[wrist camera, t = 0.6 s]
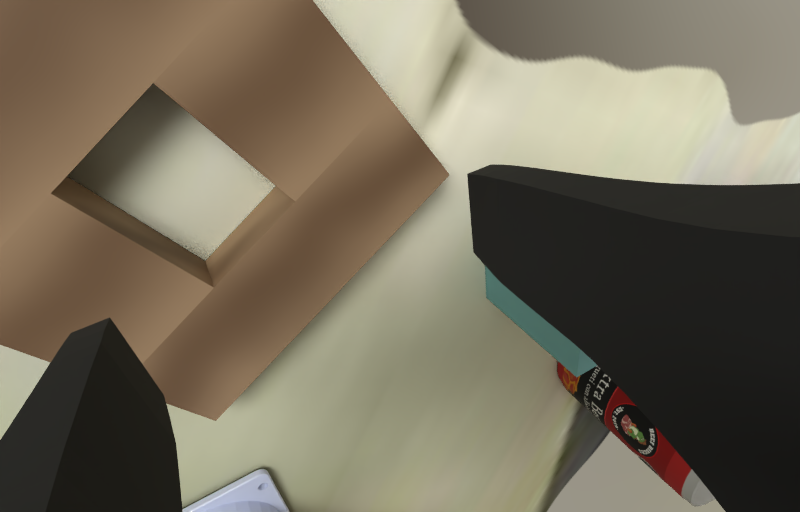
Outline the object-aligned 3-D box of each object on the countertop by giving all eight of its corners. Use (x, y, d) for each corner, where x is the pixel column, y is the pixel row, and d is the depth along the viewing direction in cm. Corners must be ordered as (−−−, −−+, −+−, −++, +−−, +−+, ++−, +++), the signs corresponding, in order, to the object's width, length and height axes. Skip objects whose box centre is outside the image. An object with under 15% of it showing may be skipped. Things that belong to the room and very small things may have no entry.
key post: (528, 277, 28) (634, 357, 23) (486, 297, 28) (586, 386, 22) (529, 214, 26) (649, 286, 20) (483, 234, 25) (595, 315, 19)
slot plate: (425, 159, 21) (449, 174, 20) (207, 388, 21) (215, 420, 20) (129, -204, 12) (133, -228, 10) (-243, 206, 12) (-294, 240, 11)
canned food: (566, 318, 33) (724, 440, 24) (645, 291, 36) (807, 390, 28) (543, 399, 36) (673, 528, 28) (617, 368, 40) (752, 475, 31)
